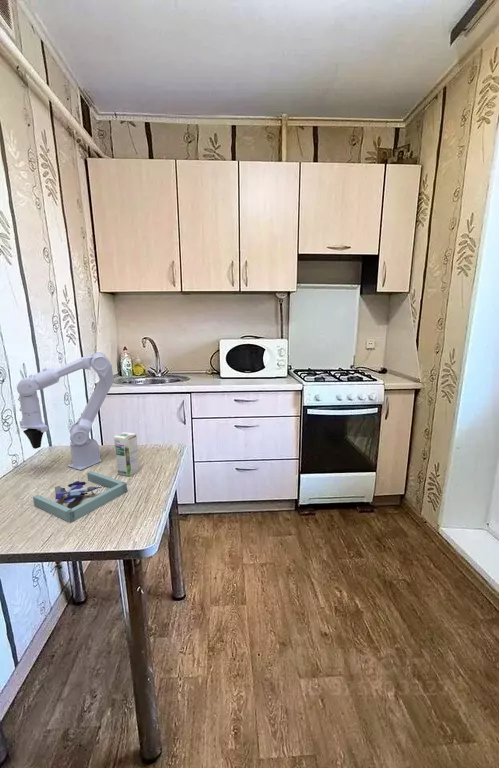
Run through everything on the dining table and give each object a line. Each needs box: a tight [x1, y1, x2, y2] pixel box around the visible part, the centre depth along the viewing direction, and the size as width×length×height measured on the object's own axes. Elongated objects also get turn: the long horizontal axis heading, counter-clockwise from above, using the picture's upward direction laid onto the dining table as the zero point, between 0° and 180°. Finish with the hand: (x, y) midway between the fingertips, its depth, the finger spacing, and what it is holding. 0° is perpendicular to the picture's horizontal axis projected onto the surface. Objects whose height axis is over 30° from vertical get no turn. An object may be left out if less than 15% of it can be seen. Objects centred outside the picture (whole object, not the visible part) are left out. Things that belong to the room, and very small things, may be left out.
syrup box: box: [113, 431, 141, 477], centre depth 131 cm, size 6×6×14 cm
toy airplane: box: [54, 480, 107, 504], centre depth 115 cm, size 13×14×4 cm
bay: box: [32, 470, 128, 523], centre depth 114 cm, size 20×18×3 cm
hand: (36, 447), depth 132 cm, fingers closed
